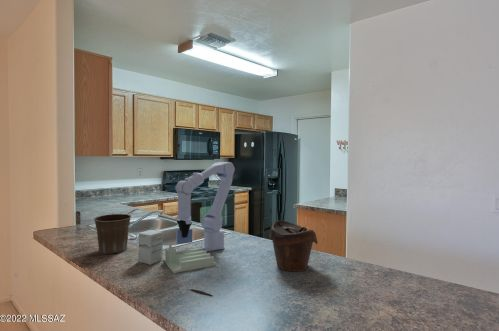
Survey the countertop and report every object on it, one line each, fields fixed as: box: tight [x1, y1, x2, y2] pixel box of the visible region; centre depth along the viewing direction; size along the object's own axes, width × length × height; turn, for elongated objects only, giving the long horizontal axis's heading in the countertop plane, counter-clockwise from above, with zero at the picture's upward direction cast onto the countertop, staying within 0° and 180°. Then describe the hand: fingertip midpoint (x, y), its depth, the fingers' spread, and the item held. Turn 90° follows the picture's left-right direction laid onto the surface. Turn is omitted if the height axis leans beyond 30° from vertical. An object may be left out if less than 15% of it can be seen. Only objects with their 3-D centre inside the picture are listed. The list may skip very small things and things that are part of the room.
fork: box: [173, 279, 214, 297], centre depth 98 cm, size 3×16×2 cm, turn 62°
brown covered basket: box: [268, 220, 318, 272], centre depth 121 cm, size 18×20×18 cm
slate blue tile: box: [175, 228, 193, 245], centre depth 132 cm, size 7×2×6 cm, turn 118°
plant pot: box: [93, 213, 132, 255], centre depth 139 cm, size 16×16×16 cm
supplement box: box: [137, 229, 164, 265], centre depth 125 cm, size 7×7×13 cm
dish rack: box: [162, 243, 217, 274], centre depth 124 cm, size 18×16×8 cm
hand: (184, 236), depth 132 cm, fingers closed on slate blue tile, 2 cm apart
